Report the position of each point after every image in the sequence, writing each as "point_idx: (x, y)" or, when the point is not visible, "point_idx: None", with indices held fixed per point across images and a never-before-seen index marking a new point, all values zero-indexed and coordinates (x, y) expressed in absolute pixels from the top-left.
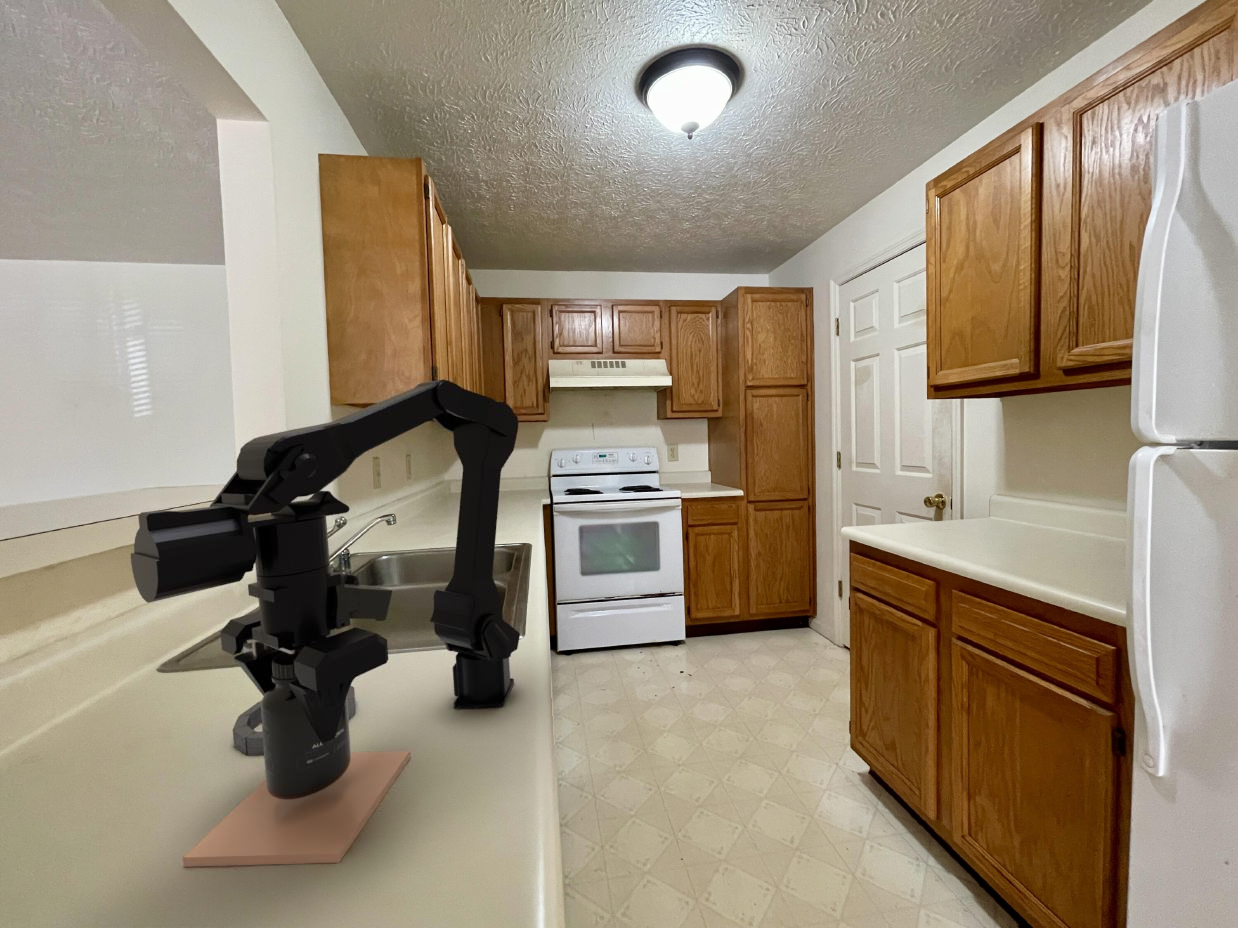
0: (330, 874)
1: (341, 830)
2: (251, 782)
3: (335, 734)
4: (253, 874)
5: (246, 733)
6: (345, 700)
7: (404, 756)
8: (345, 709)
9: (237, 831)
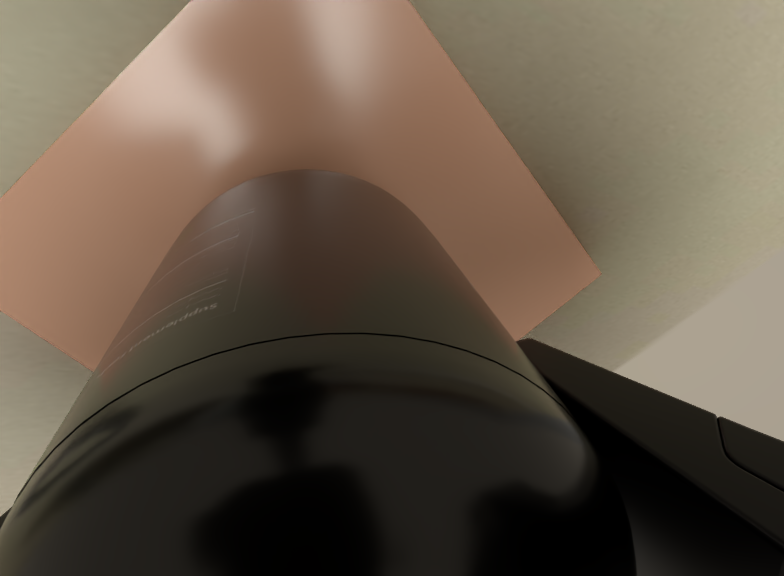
0: (601, 285)
1: (534, 247)
2: (11, 373)
3: (536, 343)
4: None
5: None
6: (734, 422)
7: None
8: (471, 301)
9: None
